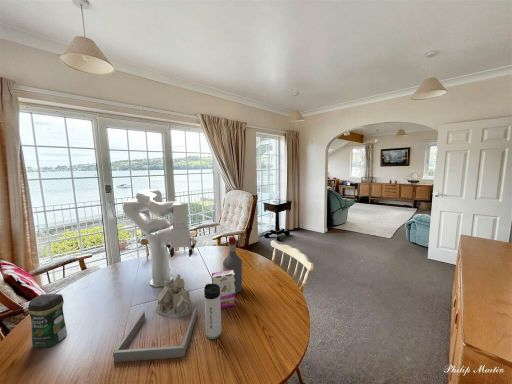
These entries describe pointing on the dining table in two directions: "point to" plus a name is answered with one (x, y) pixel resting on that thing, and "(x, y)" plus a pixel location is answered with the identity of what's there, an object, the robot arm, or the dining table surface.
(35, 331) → the coffee jar
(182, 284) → the ceramic cottage
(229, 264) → the liquor
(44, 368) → the dining table surface
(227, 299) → the candy bar box
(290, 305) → the dining table surface
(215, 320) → the travel mug
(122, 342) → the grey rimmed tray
